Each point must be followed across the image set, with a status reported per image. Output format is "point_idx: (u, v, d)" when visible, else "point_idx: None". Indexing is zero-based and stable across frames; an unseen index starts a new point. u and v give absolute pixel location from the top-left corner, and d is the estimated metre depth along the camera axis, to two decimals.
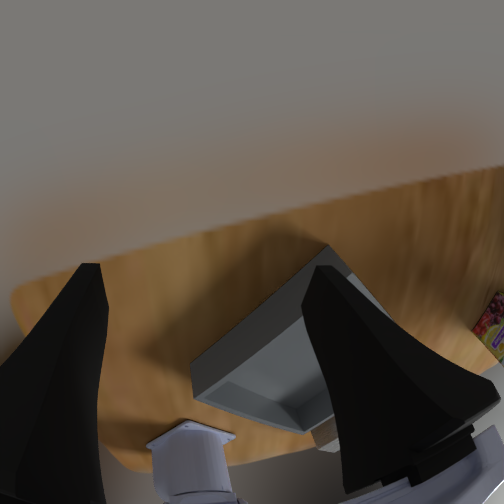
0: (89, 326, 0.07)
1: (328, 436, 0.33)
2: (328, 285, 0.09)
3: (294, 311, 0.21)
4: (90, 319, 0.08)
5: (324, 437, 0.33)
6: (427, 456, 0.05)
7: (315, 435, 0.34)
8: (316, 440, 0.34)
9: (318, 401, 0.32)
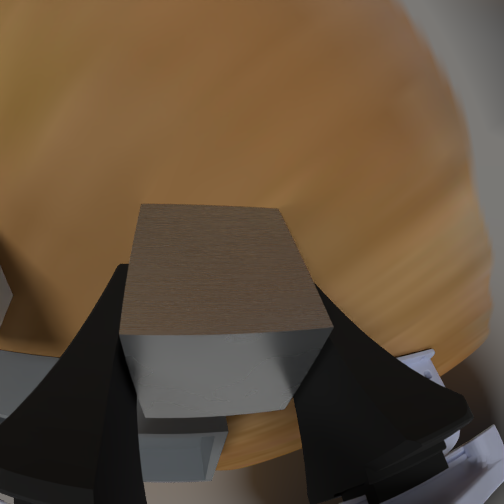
0: None
1: None
2: None
3: None
4: None
5: None
6: (386, 475, 0.05)
7: None
8: None
9: None
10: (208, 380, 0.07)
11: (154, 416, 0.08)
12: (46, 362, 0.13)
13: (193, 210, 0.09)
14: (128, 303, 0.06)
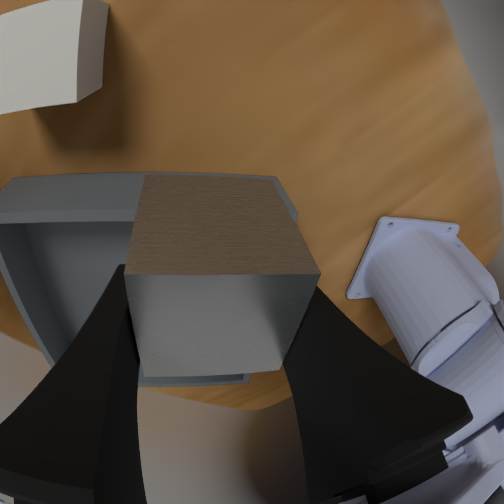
0: (132, 328, 0.08)
1: None
2: None
3: None
4: None
5: None
6: (386, 475, 0.05)
7: None
8: None
9: None
10: (204, 329, 0.08)
11: (153, 374, 0.09)
12: (106, 175, 0.15)
13: (193, 179, 0.10)
14: (133, 250, 0.07)
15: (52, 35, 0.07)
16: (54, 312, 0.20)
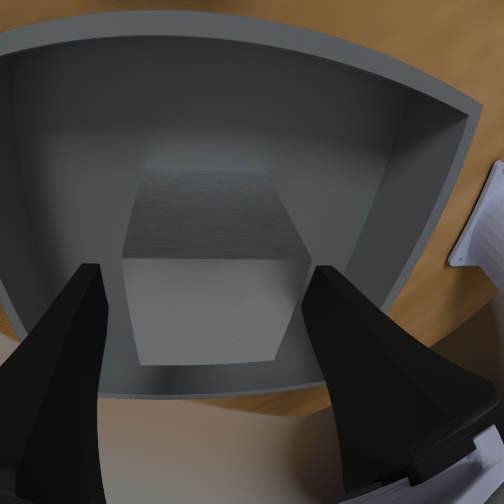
0: (89, 326, 0.07)
1: None
2: (328, 285, 0.09)
3: None
4: (90, 319, 0.08)
5: None
6: (427, 456, 0.05)
7: None
8: None
9: (358, 70, 0.08)
10: (199, 315, 0.08)
11: (149, 363, 0.09)
12: None
13: (190, 173, 0.10)
14: (130, 236, 0.07)
15: None
16: (47, 282, 0.12)
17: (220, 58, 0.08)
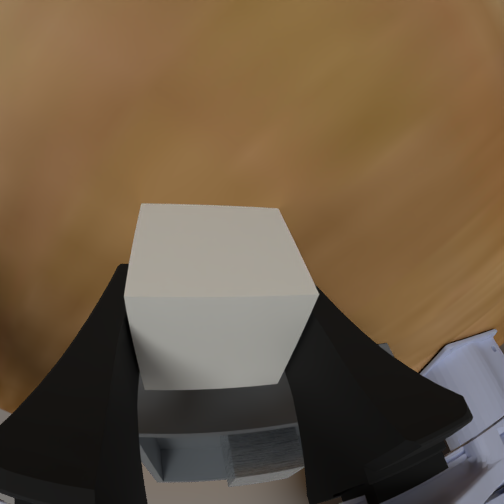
0: None
1: None
2: None
3: None
4: None
5: None
6: (385, 475, 0.05)
7: None
8: None
9: None
10: (260, 478, 0.16)
11: None
12: None
13: None
14: (235, 465, 0.15)
15: (260, 336, 0.08)
16: (155, 436, 0.20)
17: None
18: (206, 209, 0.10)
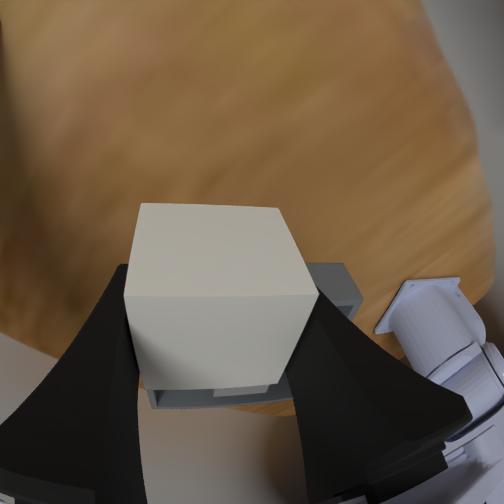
0: None
1: None
2: None
3: None
4: None
5: None
6: (385, 475, 0.05)
7: None
8: None
9: None
10: None
11: (217, 395, 0.23)
12: None
13: None
14: None
15: (260, 336, 0.08)
16: None
17: None
18: (206, 209, 0.10)
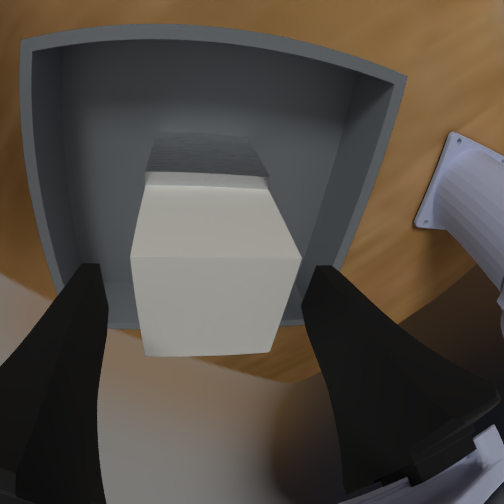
0: (88, 326, 0.07)
1: None
2: (328, 285, 0.09)
3: None
4: (90, 319, 0.08)
5: None
6: (427, 456, 0.05)
7: None
8: None
9: None
10: None
11: None
12: None
13: (191, 134, 0.14)
14: (150, 162, 0.11)
15: (250, 299, 0.09)
16: (72, 226, 0.16)
17: (212, 54, 0.12)
18: (203, 189, 0.11)
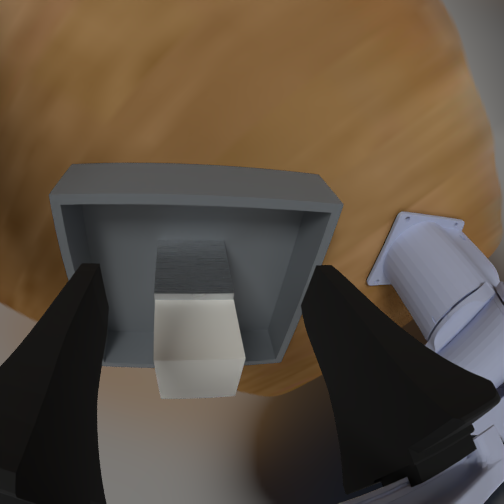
0: (89, 326, 0.07)
1: None
2: (328, 285, 0.09)
3: None
4: (90, 319, 0.08)
5: None
6: (427, 456, 0.05)
7: None
8: None
9: None
10: None
11: None
12: (172, 166, 0.17)
13: (182, 242, 0.20)
14: (156, 283, 0.17)
15: (219, 374, 0.15)
16: None
17: None
18: (191, 303, 0.17)
